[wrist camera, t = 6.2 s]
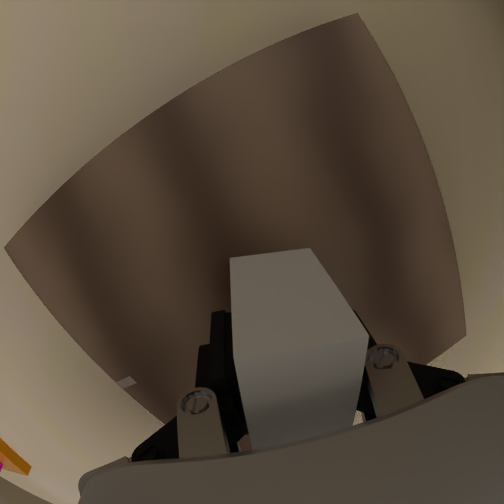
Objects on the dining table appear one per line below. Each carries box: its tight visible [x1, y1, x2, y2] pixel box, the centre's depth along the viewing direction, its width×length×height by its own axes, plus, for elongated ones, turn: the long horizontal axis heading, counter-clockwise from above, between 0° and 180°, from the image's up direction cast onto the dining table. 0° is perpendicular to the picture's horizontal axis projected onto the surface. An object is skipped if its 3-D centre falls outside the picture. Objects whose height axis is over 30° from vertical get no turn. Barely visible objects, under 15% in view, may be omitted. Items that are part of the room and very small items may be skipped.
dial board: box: [4, 13, 466, 452], centre depth 15 cm, size 20×20×2 cm
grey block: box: [230, 248, 369, 450], centre depth 12 cm, size 12×3×7 cm, turn 6°
